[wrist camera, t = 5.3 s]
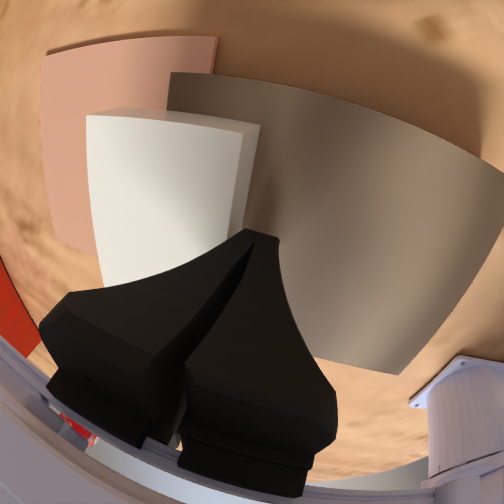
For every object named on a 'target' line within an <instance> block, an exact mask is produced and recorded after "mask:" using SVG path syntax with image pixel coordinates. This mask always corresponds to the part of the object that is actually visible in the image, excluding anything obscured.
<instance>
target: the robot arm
mask: <svg viewBox="0 0 504 504" xmlns="http://www.w3.org/2000/svg"><path fill="white" fill-rule="evenodd" d="M279 244H280V240H279V238H278V237H275V236H271V235H268V234H264V233H261V232H257V231H254V230H251V229H247V228H245V229H243V230H241V231H240V232H238V233H237V234H235V235H233V236H232V237H230V238H229V239H227V240H226V241H224V242H223V243H221V244H219V245H218V246H216V247H214V248H213V249H211V250H209V251H208V252H206V253H204V254H202V255H200V256H198V257H196V258H194V259H193V260H191V261H189V262H187V263H184V264H182V265H180V266H177V267H175V268H172V269H170V270H168V271H165V272H162V273H159V274H156V275H153V276H149V277H146V278H143V279H140V280H136V281H133V282H128V283H124V284H120V285H115V286H110V287H105V288H99V289H91V290H83V291H75V292H69V293H68V294H67V295H66V296H65V297H64V298H63V299H62V300H61V301H60V302H59V303H58V304H57V305H56V306H55V307H54V308H53V309H52V310H51V311H50V312H49V313H48V314H47V316H46V317H45V318H44V319H43V320H42V321H41V322H40V324H39V334H40V337H41V339H42V341H43V343H44V345H45V347H46V348H47V350H48V352H49V353H50V355H51V357H52V358H53V360H54V361H55V363H56V364H57V366H58V368H59V369H58V370H57V371H56V373H55V374H54V375H53V377H52V378H50V377H48V376H47V375H46V374H44V373H43V372H42V371H41V370H39V369H38V368H37V367H36V366H34V365H33V364H32V363H31V362H30V361H28V360H27V359H26V358H25V357H24V356H23V355H21V354H20V353H19V352H18V351H17V350H16V349H15V348H14V347H13V346H11V345H10V344H9V343H8V342H7V341H6V340H5V339H4V338H3V337H2V336H1V335H0V504H185V503H183V502H180V501H178V500H175V499H173V498H170V497H167V496H165V495H163V494H161V493H158V492H156V491H153V490H151V489H149V488H147V487H145V486H143V485H141V484H139V483H137V482H135V481H133V480H131V479H129V478H127V477H125V476H123V475H121V474H119V473H117V472H116V471H114V470H112V469H110V468H109V467H107V466H105V465H103V464H101V463H100V462H98V461H97V460H95V459H94V458H92V457H90V456H89V455H87V454H86V453H85V450H86V449H87V447H88V445H89V441H88V440H86V439H85V438H84V437H82V436H81V435H80V434H79V433H77V432H76V431H75V430H74V429H73V428H72V427H71V426H70V425H69V424H68V423H67V422H66V421H65V420H64V419H63V418H62V417H60V416H59V415H58V414H57V413H56V412H54V411H53V410H52V409H51V408H50V407H49V403H50V404H51V405H52V406H53V407H55V408H56V409H58V410H59V411H60V412H61V413H63V414H64V415H66V416H67V417H68V418H70V419H71V420H73V421H74V422H76V423H77V424H79V425H80V426H82V427H83V428H85V429H86V430H88V431H89V432H91V433H92V434H94V435H96V436H97V437H99V438H101V439H102V440H104V441H106V442H107V443H109V444H111V445H113V446H115V447H116V448H118V449H120V450H122V451H124V452H125V453H127V454H129V455H131V456H133V457H135V458H137V459H139V460H141V461H143V462H145V463H147V464H150V465H152V466H154V467H156V468H158V469H161V470H163V471H165V472H168V473H170V474H173V475H175V476H177V477H180V478H183V479H185V480H188V481H191V482H193V483H196V484H199V485H202V486H205V487H208V488H211V489H214V490H218V491H221V492H224V493H228V494H231V495H235V496H239V497H243V498H247V499H251V500H255V501H260V502H265V503H270V504H504V363H501V362H495V361H490V360H484V359H479V358H473V357H468V356H463V355H459V356H457V357H455V358H454V359H453V360H452V361H451V362H450V363H449V364H448V365H447V366H446V367H445V368H444V369H443V370H442V371H441V372H440V373H439V374H438V375H437V376H436V377H435V378H434V379H433V380H432V381H431V382H430V383H429V384H428V385H427V386H426V387H425V388H423V389H422V390H421V391H420V392H419V393H418V394H417V395H416V396H414V397H413V398H412V399H411V400H410V401H409V402H408V406H409V407H414V408H424V409H427V418H428V438H429V477H428V480H426V481H423V482H421V489H413V490H391V491H366V490H346V489H333V488H324V487H315V486H308V485H305V482H306V477H307V473H308V470H311V468H312V466H313V462H314V456H315V454H317V453H318V452H320V451H321V450H323V449H324V448H326V447H327V446H329V445H330V444H331V443H332V442H333V441H334V440H335V439H336V433H337V428H338V408H337V398H336V391H335V390H334V389H333V387H332V386H331V384H330V383H329V381H328V380H327V379H326V377H325V376H324V374H323V373H322V371H321V370H320V368H319V367H318V365H317V363H316V362H315V360H314V358H313V356H312V355H311V353H310V351H309V349H308V347H307V345H306V343H305V341H304V339H303V337H302V335H301V333H300V331H299V329H298V327H297V324H296V322H295V319H294V317H293V314H292V312H291V309H290V306H289V303H288V300H287V296H286V293H285V289H284V285H283V280H282V275H281V269H280V262H279ZM180 441H181V442H182V447H183V449H182V452H181V451H179V450H176V448H178V446H179V443H180Z"/></svg>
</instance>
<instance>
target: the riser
mask: <svg viewBox="0 0 504 504" xmlns="http://www.w3.org/2000/svg"><path fill="white" fill-rule="evenodd" d="M166 110H168V111H177V112H186V113H193V114H201V115H208V116H214V117H220V118H226V119H232V120H237V121H243V122H248V123H253V124H258V125H261V126H260V131H259V137H258V142H257V147H256V153H255V158H254V164H253V169H252V175H251V180H250V186H249V191H248V197H247V202H246V208H245V213H244V219H243V225H242V230H243V229H245V228H247V229H251V230H254V231H257V232H261V233H264V234H268V235H271V236H275V237H278V238H279V240H280V244H279V262H280V269H281V275H282V280H283V285H284V289H285V293H286V296H287V300H288V303H289V306H290V309H291V312H292V314H293V317H294V319H295V322H296V324H297V327H298V329H299V331H300V333H301V335H302V337H303V339H304V341H305V343H306V345H307V347H308V349H309V351H310V353H311V355H312V356H313V357H317V358H321V359H325V360H329V361H333V362H337V363H342V364H346V365H350V366H355V367H359V368H364V369H368V370H373V371H378V372H383V373H388V374H394V375H399V374H400V373H401V372H402V371H403V370H404V369H405V368H406V367H407V366H408V364H409V363H410V362H411V361H412V360H413V359H414V358H415V357H416V356H417V354H418V353H419V352H420V351H421V350H422V349H423V347H424V346H425V345H426V344H427V343H428V342H429V340H430V339H431V338H432V337H433V335H434V334H435V333H436V332H437V330H438V329H439V328H440V327H441V325H442V324H443V323H444V321H445V320H446V319H447V318H448V316H449V315H450V313H451V312H452V311H453V309H454V308H455V307H456V305H457V304H458V302H459V301H460V299H461V298H462V297H463V295H464V294H465V292H466V291H467V289H468V288H469V286H470V285H471V283H472V281H473V280H474V278H475V277H476V275H477V273H478V272H479V270H480V269H481V267H482V265H483V263H484V262H485V260H486V258H487V257H488V255H489V253H490V251H491V249H492V248H493V246H494V244H495V242H496V240H497V238H498V236H499V234H500V232H501V230H502V228H503V226H504V173H502V172H501V171H499V170H498V169H496V168H495V167H493V166H492V165H490V164H488V163H487V162H485V161H484V160H482V159H480V158H478V157H477V156H475V155H473V154H471V153H470V152H468V151H466V150H464V149H462V148H461V147H459V146H457V145H455V144H453V143H451V142H449V141H447V140H445V139H443V138H441V137H439V136H437V135H435V134H433V133H430V132H428V131H426V130H424V129H422V128H419V127H417V126H415V125H413V124H410V123H408V122H405V121H403V120H400V119H398V118H395V117H393V116H390V115H388V114H385V113H382V112H380V111H377V110H374V109H371V108H368V107H365V106H362V105H359V104H356V103H353V102H350V101H346V100H343V99H340V98H336V97H333V96H329V95H326V94H322V93H318V92H314V91H310V90H306V89H302V88H297V87H293V86H288V85H283V84H278V83H273V82H267V81H261V80H255V79H249V78H242V77H234V76H226V75H217V74H205V73H188V72H171V74H170V82H169V90H168V99H167V109H166Z"/></svg>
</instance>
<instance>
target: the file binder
mask: <svg viewBox="0 0 504 504" xmlns="http://www.w3.org/2000/svg"><path fill="white" fill-rule="evenodd" d="M0 335H1V336H2V337H3V338H4V339H5V340H6V341H7V342H8V343H9V344H10V345H11V346H13V347H14V348H15V349H16V350H17V351H18V352H19V353H20V354H21V355H23V356H24V357H25V358H27V357H28V356H29V355H30V353H31V352H32V351H33V350H34V349H35V347H36V346H37V345H38V344H39V343H40V341H41V340H42V339H41V337H40V334H39V331H38V329H37V328H36V326H35V325H34V323H33V321H32V320H31V318H30V316H29V314H28V313H27V311H26V309H25V307H24V306H23V304H22V302H21V300H20V298H19V296H18V294H17V292H16V290H15V288H14V286H13V284H12V282H11V280H10V278H9V276H8V274H7V272H6V270H5V267H4V265H3V263H2V261H1V258H0Z"/></svg>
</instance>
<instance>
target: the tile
mask: <svg viewBox="0 0 504 504" xmlns="http://www.w3.org/2000/svg"><path fill="white" fill-rule="evenodd" d="M260 126H261V125H258V124H253V123H248V122H243V121H237V120H232V119H226V118H220V117H214V116H208V115H201V114H193V113H186V112H177V111H168V110H157V109H145V108H129V107H118V108H113V109H109V110H105V111H101V112H96V113H93V114H89V115H86V150H87V170H88V184H89V195H90V205H91V213H92V221H93V228H94V235H95V241H96V247H97V253H98V258H99V264H100V269H101V274H102V278H103V283H104V288H105V287H110V286H115V285H120V284H124V283H128V282H133V281H136V280H140V279H143V278H146V277H149V276H153V275H156V274H159V273H162V272H165V271H168V270H170V269H172V268H175V267H177V266H180V265H182V264H184V263H187V262H189V261H191V260H193V259H194V258H196V257H198V256H200V255H202V254H204V253H206V252H208V251H209V250H211V249H213V248H214V247H216V246H218V245H219V244H221V243H223V242H224V241H226V240H227V239H229V238H230V237H232V236H233V235H235V234H237V233H238V232H240V231H241V230H242V225H243V219H244V213H245V208H246V202H247V197H248V191H249V186H250V180H251V175H252V169H253V164H254V158H255V153H256V147H257V142H258V137H259V131H260Z"/></svg>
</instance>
